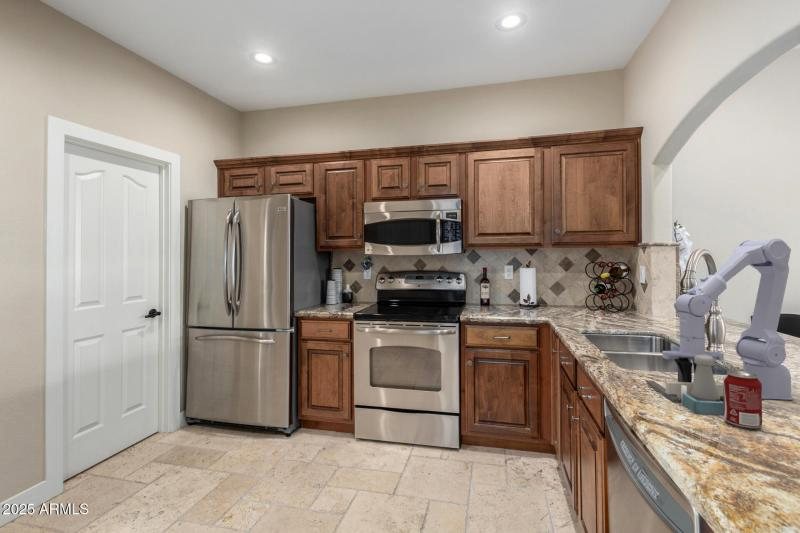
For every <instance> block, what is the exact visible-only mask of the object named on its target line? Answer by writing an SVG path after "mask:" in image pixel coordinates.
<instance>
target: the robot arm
mask: <svg viewBox="0 0 800 533" xmlns="http://www.w3.org/2000/svg"><path fill="white" fill-rule="evenodd" d="M791 252H792V248H791V247H790V246H789V245H788V244H787V242H785V241H784V240H783V239H781V238H771V239H757V240H750V239H749V240H743V241H742V242H740V243H739V244H738V246H736V247H734V248H733V254H732V255H731V256H730V257H729V258H728V259H727V260H726V261H725V262H724V263H723V264H722V266H720V268H719V269H718V270H717V271H716V272H714V274H708V275H705V276H701V277H700V279H699V280H700V281H698V283H697V284H695V285H694V286H693V287H692V288H690V289H689V290H688V292H687V293H684V294H680V295H679V296H678V297H676V298H677V299H676V300H675V302H674V303H673V308H674V310H675V311H676V312H677V318H678V319H679V323H678V324H679V350H677V349H676V350H675V349H674V350H662V352H661V354H662V355H661V356H662V358H663V359H665V360H670V359H671V360H674V361H675V364H676V365H677V368H678V367H679V369H680V371H681V374H682V377H683V380H684V382H691V369H692V370H693V371H694V372H693V373H694V375H695V370H696V365H697V364H696V363H694V356H696V355H708V356H711V357H712V358H713V359H714V361H724V356H725V355H724V353H723V352H720V351H707V350H706V333H705V332H706V330H705V324H706V323H705V315H706V314H708V313H709V312H710V310H711V309H712V308H711V306H712V304H713V302H714V301H715V300H716V299H717V298H718V297H719V296H720V295H721V294H722V293H723V292H724V291H726V289H727V282H729V281H730V280H731V279H733V277H735V276H736V275H737V274H739V273H741V271H742V270H744V269H745V268H746V267H748V266H750V267H752V268H754V269H755V270H757V272H759V274H760V279H759V283H758V284H759V285H758V288H757V289H758V290H757V293H756V299H755V303H754V307H753V312H752V317H751V323H750V327H749V328H747V329H745V330H743V331H742V332H741V333H740V337H739V339H738V340H737V341H736V343H735V348H734V349H735V351H736V354H737V355H738V357H740V361H742V368H743V369H742V371H745V372H750V373H754V374H756V375H758V380H759V381H760V382H761V384H762V400H763V399H764V400H765V399H766V400H785V401H786V400H790V401H793V400H794V398H793V397H792V375H791V372H790V371H789V370H790V369H788V367H787V366H785V365H784V364H783V363H784V362H785V360H786V358H787V351H786V339H784V338H783V337H782V336H781V335H780V334H779V333H778V331H777V330H778V328H779V327H778V326H779V322H780V317H781V312H782V307H783V302H784V299H785V298H784V297H785V293H786V289H787V288H786V287H787V283H788V278H789V274H790V267H789V261H790V256H791ZM690 360H692V362H691V361H690ZM694 375H693V376H694Z"/></svg>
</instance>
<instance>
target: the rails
mask: <svg viewBox="0 0 800 533" xmlns="http://www.w3.org/2000/svg"><path fill="white" fill-rule="evenodd" d="M645 381H646V385H647V386H649V387H651V389H653V390H654V391H656V392H658V393H659V394H660V395H662V396H664V397H665V398H666V399H667V400H669V401H670V402H672V403H673V404H681V398H679V397H677V396H676V395H674V394H667V393H666V387H664V386H662V385H661V384H659V383H658V382H656V381H655V380H649V379H648V380H645ZM718 400H719V401H720V402H724V396H720V399H718Z"/></svg>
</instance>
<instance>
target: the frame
mask: <svg viewBox="0 0 800 533" xmlns="http://www.w3.org/2000/svg"><path fill="white" fill-rule="evenodd" d="M680 399H681V403H680V404H681V405H683V407H685V408H687V409H688V410H690V411H691V412H693V413H694V414H695V415H710V416H715V415H716V416H724V402H722V401H716V402H715V401H697V400H696V399H694V398H693V397H691V396H689V395H688V394H687V386H684V385H681V398H680Z"/></svg>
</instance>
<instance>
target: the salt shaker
mask: <svg viewBox="0 0 800 533" xmlns="http://www.w3.org/2000/svg"><path fill="white" fill-rule="evenodd" d="M694 363H696V364H697V365H696V370H695V375H693V376H694V377H693V379H692V382H693V385H692V390H691V396H692V397H693V398H694V399H696V400H697V401H715V402H718V400H719V399H718V394H717V389H716V385H715V383H716V382H715V381H716V380H715V376H714V373H713V367H712V366H714V365H715V360H714V359H713V358H712V357H711V356H708V355H696V356H694Z"/></svg>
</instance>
